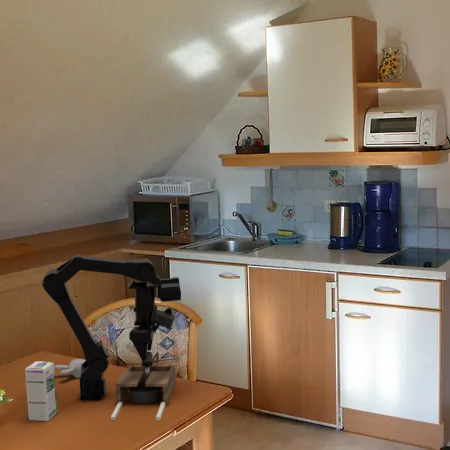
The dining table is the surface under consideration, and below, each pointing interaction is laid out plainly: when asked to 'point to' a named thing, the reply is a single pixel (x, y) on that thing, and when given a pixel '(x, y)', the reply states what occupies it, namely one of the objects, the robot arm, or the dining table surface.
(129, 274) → the robot arm
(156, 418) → the rails
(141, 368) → the tunnel
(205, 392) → the dining table surface
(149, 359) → the slider
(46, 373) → the syrup box
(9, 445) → the dining table surface
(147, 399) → the smart speaker
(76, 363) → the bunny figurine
